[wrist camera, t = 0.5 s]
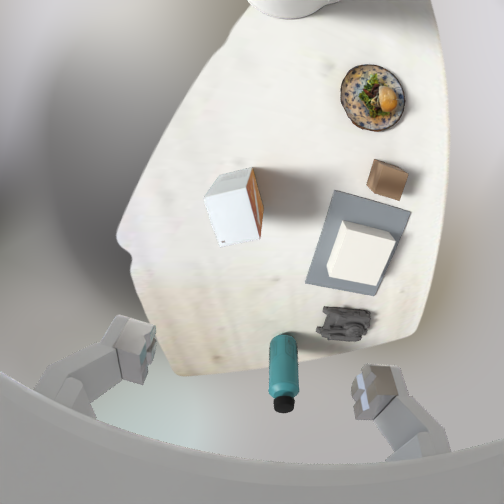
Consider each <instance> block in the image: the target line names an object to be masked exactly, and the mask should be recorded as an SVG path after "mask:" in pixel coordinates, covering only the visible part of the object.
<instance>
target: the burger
mask: <svg viewBox="0 0 504 504" xmlns="http://www.w3.org/2000/svg"><path fill="white" fill-rule="evenodd" d="M341 104H342V106H343V107H344V109H345V111H346V113H347V116H348V117H349V118H350V119H351V121H352V123H353V124H354V125H356V126H357V127H359V128H361V129H367V130H370V131H377V132H379V131H381V130H385V129H388V128H389V127H391V126H393V125H394V124H395V123H397V122H398V121H399V119H400V117H401V116H402V113H403V111H404V106H405V96H404V91H403V88H402V86H401V84H400V83H399V81H398V79H397V78H396V77H395V76H394V75H393V74H392V73H391V72H390V71H388V70H386V69H384V68H383V67H380V66H377V65H368V64H365V65H360V66H356V67H354V68H352V69H351V70H349V71H348V73H347V75H346V76H345V78H344V79H343V81H342V85H341Z"/></svg>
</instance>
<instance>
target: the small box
mask: <svg viewBox="0 0 504 504" xmlns="http://www.w3.org/2000/svg"><path fill="white" fill-rule="evenodd" d="M204 202H205V205H206V209H207V212H208V215H209V218H210V222H211V225H212V228H213V230H214V233H215V235H216V238H217V241H218V244H219V247H224V246H228V245H233V244H238V243H243V242H248V241H253V240H258V239H260V237H261V227H262V219H263V211H264V207H263V204H262V201H261V197H260V193H259V190H258V186H257V182H256V178H255V174H254V170H253V167H251V168H246V169H242V170H238V171H234V172H230V173H226V174H222V175H219V176H218V178H217V179H216V180H215V182H214V183H213V185H212V186H211V187H210V189H209V190H208V192H207V193H206V195H205V196H204Z"/></svg>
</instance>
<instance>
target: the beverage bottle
mask: <svg viewBox="0 0 504 504" xmlns="http://www.w3.org/2000/svg"><path fill="white" fill-rule="evenodd" d="M297 348H298V347H297V343H296V341H295V339H294V338H293V337H291V336H289V335H278V336H276V337H274V338H273V339H272V341H271V343H270V347H269V351H270V358H269V360H270V364H269V394H270V395H271V396H272V397H273V398H275V399H274V409H275V411H277V412H279V413H288V412H291V411H292V410H293V409H294V403H295V400H294V397H295V396H296V395H297V394H298V393H299V380H298V358H297V354H298V349H297Z"/></svg>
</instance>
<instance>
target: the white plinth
mask: <svg viewBox="0 0 504 504" xmlns="http://www.w3.org/2000/svg"><path fill="white" fill-rule="evenodd" d="M395 242H396V241H395V240H394V238H393V237H392V236H391V234H390V233H389V232H387V231H383V230H380V229H376V228H372V227H368V226H364V225H360V224H356V223H352V222H348V221H344V220H342V223H341V226H340V229H339V232H338V235H337V238H336V240H335V243H334V246H333V249H332V252H331V255H330V257H329V260H328V263H327V269H328V273H329V277H333V278H338V279H343V280H348V281H353V282H359V283H364V284H369V285H374V286H376V285H377V283H378V281H379V278H380V276H381V274H382V272H383V270H384V267H385V265H386V263H387V261H388V258H389V256H390V254H391V251H392V249H393V247H394V244H395Z"/></svg>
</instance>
